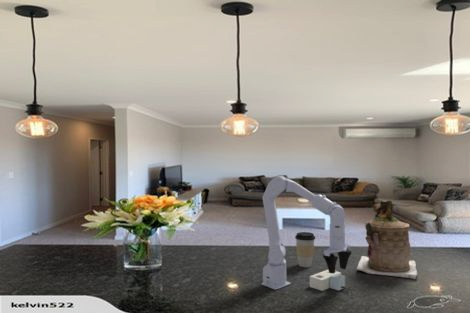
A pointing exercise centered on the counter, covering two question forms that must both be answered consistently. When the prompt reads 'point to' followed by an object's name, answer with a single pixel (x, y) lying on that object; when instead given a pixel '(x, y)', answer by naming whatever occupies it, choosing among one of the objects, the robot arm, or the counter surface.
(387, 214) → the cookie jar
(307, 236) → the coffee cup
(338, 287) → the charger
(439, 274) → the counter surface
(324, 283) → the power strip
